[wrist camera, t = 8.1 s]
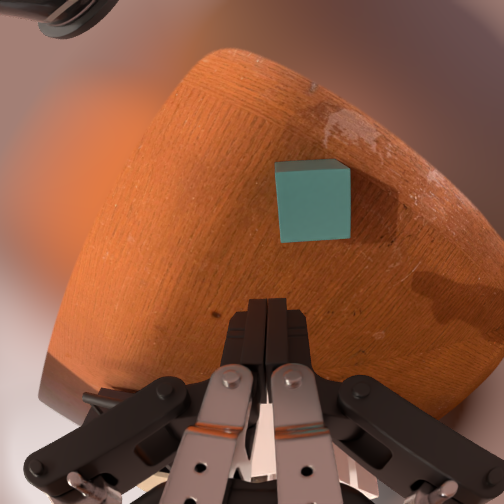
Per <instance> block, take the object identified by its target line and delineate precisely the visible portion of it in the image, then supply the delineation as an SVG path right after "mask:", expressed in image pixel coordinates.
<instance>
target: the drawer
mask: <svg viewBox="0 0 504 504" xmlns="http://www.w3.org/2000/svg"><path fill="white" fill-rule="evenodd" d="M133 394H134V393H128V392H122V391H116V390H111V389H106V388H101V389H100V391H99V393H98V395H97V394H92V393H88V392H84V393H83V396H82V399H83V401H84V402H85V403H89V404H90V405H91V408H90V410H89V412H88V414H87V416H86V418H85V420H84V422H83V424H82V425H84V424H86V423H87V422H89V421H91V420H92V419H94V418H96V417H97V416H99V415H101V414H102V413H104V412H106V411H107V410H109V409H111V408H112V407H114V406H116V405H117V404H119V403H120V402H122V401H124V400H125V399H127V398H128V397H130V396H132V395H133ZM173 462H174V461H173ZM173 462H171V463H170V464H168V465H167V466H165V467H164V468H163V469H161V470H160V472H165V473H170V471H171V468H172V465H173Z"/></svg>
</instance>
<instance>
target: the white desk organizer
mask: <svg viewBox="0 0 504 504" xmlns="http://www.w3.org/2000/svg"><path fill="white" fill-rule="evenodd" d="M332 444H333V449H334V454H335V460H336V465H337V471H338V476H339V482H341V483H344V484H347V485H349V486H351V487H354V488H355V489H357V490H358V491H360V492H361V493H363V494H364V495H365V496H366V497H368V498H369V499H373V498H376V497H379V492H378V485H377V478H376V477H375V476H373V475H372V474H371V473H370V472H368V471H367V470H366V469H364V468H363V467H362V466H361V465H359V464H358V463H357V462H356V461H354V460H353V459H352V458H351V457H349V456H348V455H347V454H346V453H345V452H343V451H342V450H341V449H340V448H339V447H337V446H336V445H335V444H334V443H333V442H332ZM264 475H268V479H267V481H270V480H275V479H277V476H276V458H275V440H274V423H273V407H272V404H269V401H268V392H267V404H260V416H259V424H258V430H257V436H256V442H255V448H254V453H253V459H252V473H251V477H257V476H264Z"/></svg>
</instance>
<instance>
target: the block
mask: <svg viewBox="0 0 504 504" xmlns="http://www.w3.org/2000/svg"><path fill="white" fill-rule="evenodd" d="M275 179H276V190H277V201H278V213H279V225H280V238H281V243H286V242H301V241H316V240H331V239H346V238H350V231H351V176H350V168H348V167H347V166H345V165H344V164H342V163H340V162H339V161H337V160H336V159H319V160H300V161H284V162H275Z"/></svg>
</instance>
